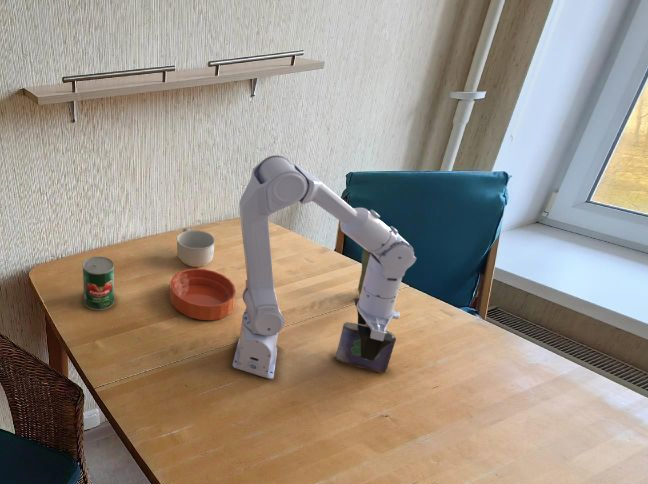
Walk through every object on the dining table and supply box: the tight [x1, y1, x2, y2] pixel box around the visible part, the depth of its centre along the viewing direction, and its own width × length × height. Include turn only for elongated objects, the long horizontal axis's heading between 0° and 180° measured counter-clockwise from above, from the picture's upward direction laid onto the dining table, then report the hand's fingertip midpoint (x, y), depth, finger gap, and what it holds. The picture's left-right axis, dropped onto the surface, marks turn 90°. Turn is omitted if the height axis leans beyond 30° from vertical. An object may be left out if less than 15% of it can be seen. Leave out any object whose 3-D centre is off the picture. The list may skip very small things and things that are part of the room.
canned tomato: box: [81, 256, 115, 311], centre depth 109 cm, size 8×8×11 cm
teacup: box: [176, 227, 216, 268], centre depth 127 cm, size 14×11×8 cm
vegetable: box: [357, 248, 373, 296], centre depth 105 cm, size 4×4×20 cm
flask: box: [335, 322, 397, 374], centre depth 87 cm, size 9×3×11 cm, turn 65°
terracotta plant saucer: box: [169, 268, 237, 321], centre depth 109 cm, size 16×16×4 cm
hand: (365, 345), depth 87 cm, fingers open, 7 cm apart
